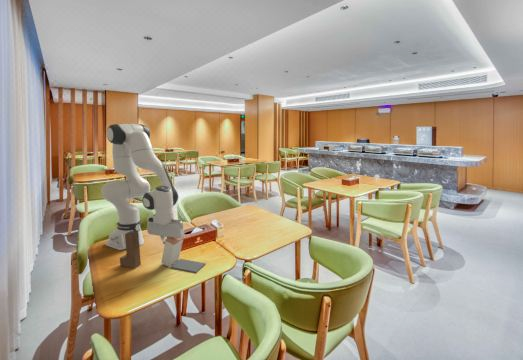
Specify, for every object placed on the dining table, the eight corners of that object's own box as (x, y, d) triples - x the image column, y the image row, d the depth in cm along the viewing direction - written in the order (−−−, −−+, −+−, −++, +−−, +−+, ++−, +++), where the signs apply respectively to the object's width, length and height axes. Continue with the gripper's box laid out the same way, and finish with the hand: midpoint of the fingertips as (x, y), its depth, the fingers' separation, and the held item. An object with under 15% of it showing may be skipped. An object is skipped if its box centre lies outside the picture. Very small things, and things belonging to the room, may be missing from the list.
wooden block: (120, 266, 139) (117, 232, 136) (126, 262, 144) (123, 229, 140) (135, 268, 137) (132, 234, 133) (141, 264, 141) (138, 231, 138)
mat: (170, 267, 138) (170, 266, 138) (180, 259, 147) (180, 258, 147) (196, 273, 134) (196, 271, 134) (205, 264, 142) (205, 263, 142)
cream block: (161, 263, 140) (165, 239, 137) (170, 256, 148) (175, 233, 144) (169, 267, 139) (174, 243, 135) (178, 259, 147) (183, 237, 143)
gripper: (186, 218, 139) (187, 244, 142) (152, 214, 145) (154, 238, 148) (178, 222, 133) (180, 249, 136) (144, 218, 139) (146, 243, 142)
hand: (166, 243), depth 142 cm, fingers closed
